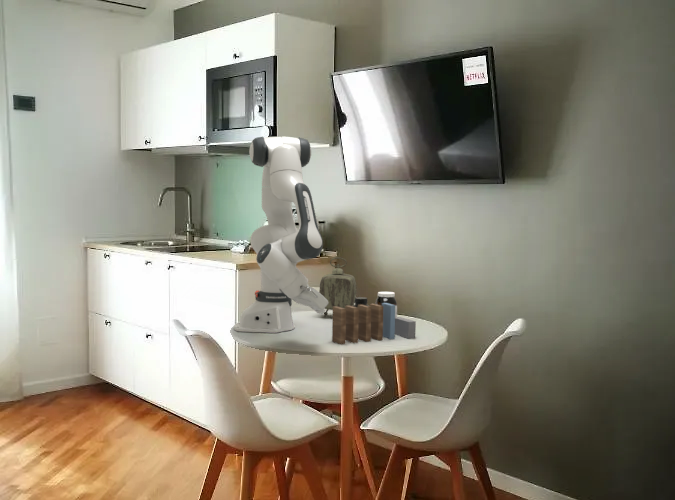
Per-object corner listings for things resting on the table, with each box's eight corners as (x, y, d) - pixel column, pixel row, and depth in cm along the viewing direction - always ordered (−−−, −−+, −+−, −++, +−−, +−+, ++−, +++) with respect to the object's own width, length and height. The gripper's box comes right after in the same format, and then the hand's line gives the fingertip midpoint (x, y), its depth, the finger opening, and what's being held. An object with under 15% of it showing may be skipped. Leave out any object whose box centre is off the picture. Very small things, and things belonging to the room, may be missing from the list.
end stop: (408, 338, 239) (408, 322, 239) (392, 333, 248) (392, 317, 248) (415, 338, 241) (415, 321, 240) (399, 333, 250) (399, 316, 249)
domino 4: (378, 340, 236) (379, 306, 235) (369, 337, 241) (369, 303, 240) (382, 340, 236) (383, 306, 236) (373, 337, 242) (374, 303, 241)
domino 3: (366, 341, 233) (366, 307, 232) (357, 338, 238) (357, 304, 238) (370, 341, 234) (371, 307, 233) (361, 338, 239) (362, 304, 238)
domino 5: (390, 339, 238) (391, 305, 237) (381, 336, 243) (381, 303, 242) (394, 338, 239) (395, 305, 238) (385, 335, 244) (385, 302, 243)
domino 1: (340, 344, 228) (341, 309, 227) (332, 341, 234) (332, 306, 233) (345, 344, 229) (345, 308, 228) (336, 340, 234) (337, 306, 233)
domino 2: (353, 343, 231) (354, 308, 230) (344, 339, 236) (345, 305, 235) (358, 342, 232) (358, 307, 231) (349, 339, 237) (349, 305, 236)
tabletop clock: (355, 316, 284) (357, 256, 282) (353, 320, 275) (354, 258, 273) (321, 314, 286) (322, 255, 284) (318, 318, 277) (319, 257, 275)
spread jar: (399, 323, 269) (399, 294, 269) (372, 324, 266) (373, 294, 265) (388, 318, 281) (389, 290, 280) (362, 319, 278) (363, 290, 277)
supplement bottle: (372, 328, 257) (373, 297, 256) (365, 332, 250) (366, 299, 250) (355, 327, 259) (356, 296, 259) (348, 330, 253) (349, 298, 252)
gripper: (315, 280, 213) (342, 309, 219) (288, 275, 231) (314, 301, 237) (302, 295, 211) (330, 324, 217) (276, 288, 229) (302, 315, 235)
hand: (321, 312), depth 227 cm, fingers closed
